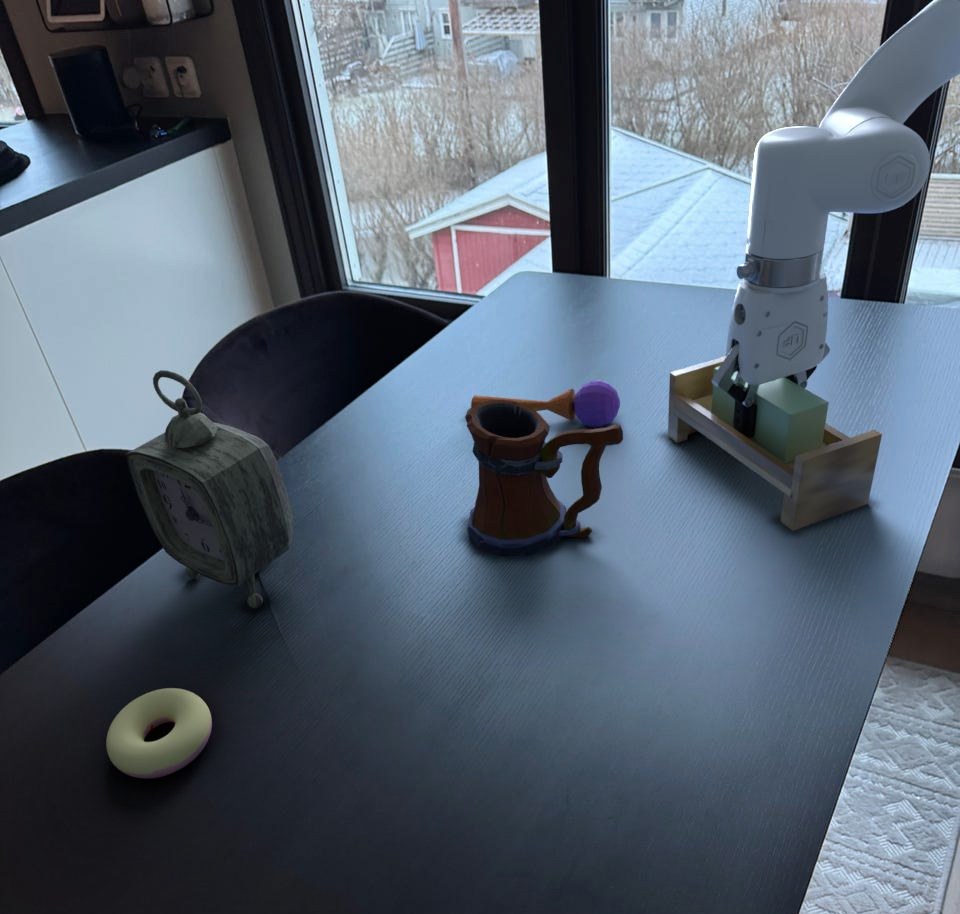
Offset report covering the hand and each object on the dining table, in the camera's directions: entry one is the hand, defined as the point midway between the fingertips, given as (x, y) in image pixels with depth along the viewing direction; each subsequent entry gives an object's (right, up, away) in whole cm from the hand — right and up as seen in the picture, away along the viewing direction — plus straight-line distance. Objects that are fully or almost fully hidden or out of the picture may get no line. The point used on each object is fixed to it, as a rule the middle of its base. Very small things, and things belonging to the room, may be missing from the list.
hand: (764, 424), depth 105 cm
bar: (0, -1, +1) cm, 1 cm away
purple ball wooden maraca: (-24, +5, +19) cm, 31 cm away
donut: (-62, -35, -21) cm, 74 cm away
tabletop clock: (-60, -18, -2) cm, 62 cm away
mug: (-26, -13, -1) cm, 29 cm away
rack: (+1, -5, +4) cm, 6 cm away
